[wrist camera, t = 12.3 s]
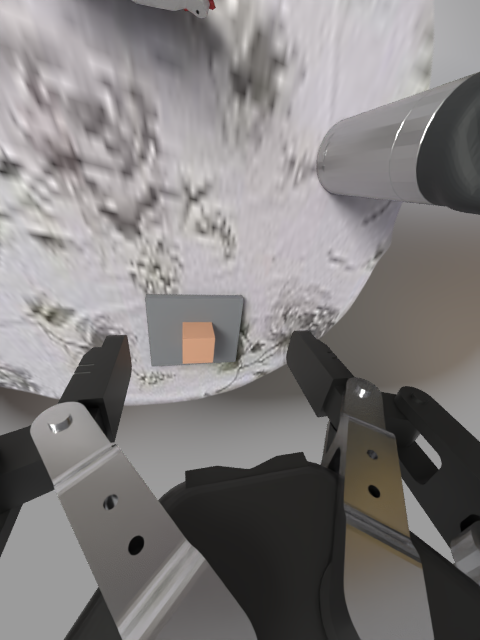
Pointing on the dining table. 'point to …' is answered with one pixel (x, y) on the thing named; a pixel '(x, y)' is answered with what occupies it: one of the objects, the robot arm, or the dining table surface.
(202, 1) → the chicken
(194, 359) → the cube
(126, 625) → the robot arm
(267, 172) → the dining table surface
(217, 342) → the mat
